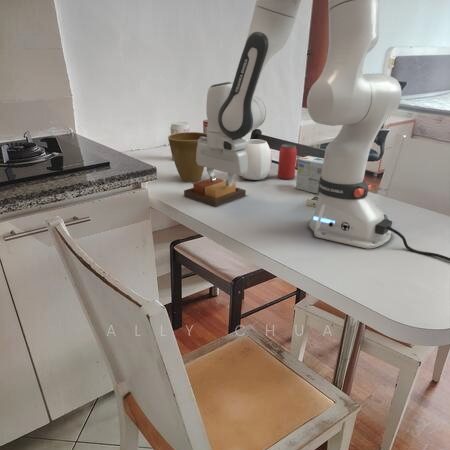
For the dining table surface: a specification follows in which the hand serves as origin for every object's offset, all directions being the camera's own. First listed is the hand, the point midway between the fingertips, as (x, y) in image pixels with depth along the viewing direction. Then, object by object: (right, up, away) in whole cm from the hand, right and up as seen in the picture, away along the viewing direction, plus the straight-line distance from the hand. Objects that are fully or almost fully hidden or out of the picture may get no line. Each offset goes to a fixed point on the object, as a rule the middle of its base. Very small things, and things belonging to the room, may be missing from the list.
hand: (220, 183), depth 137 cm
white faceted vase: (+13, +9, +23) cm, 28 cm away
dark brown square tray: (-2, -3, +4) cm, 6 cm away
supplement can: (-18, +24, +47) cm, 56 cm away
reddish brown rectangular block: (-4, -2, +6) cm, 7 cm away
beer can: (+25, +9, +24) cm, 36 cm away
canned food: (-5, +39, +70) cm, 80 cm away
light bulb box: (+33, +1, +11) cm, 35 cm away
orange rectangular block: (0, -4, +2) cm, 5 cm away
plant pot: (-12, +7, +21) cm, 25 cm away
